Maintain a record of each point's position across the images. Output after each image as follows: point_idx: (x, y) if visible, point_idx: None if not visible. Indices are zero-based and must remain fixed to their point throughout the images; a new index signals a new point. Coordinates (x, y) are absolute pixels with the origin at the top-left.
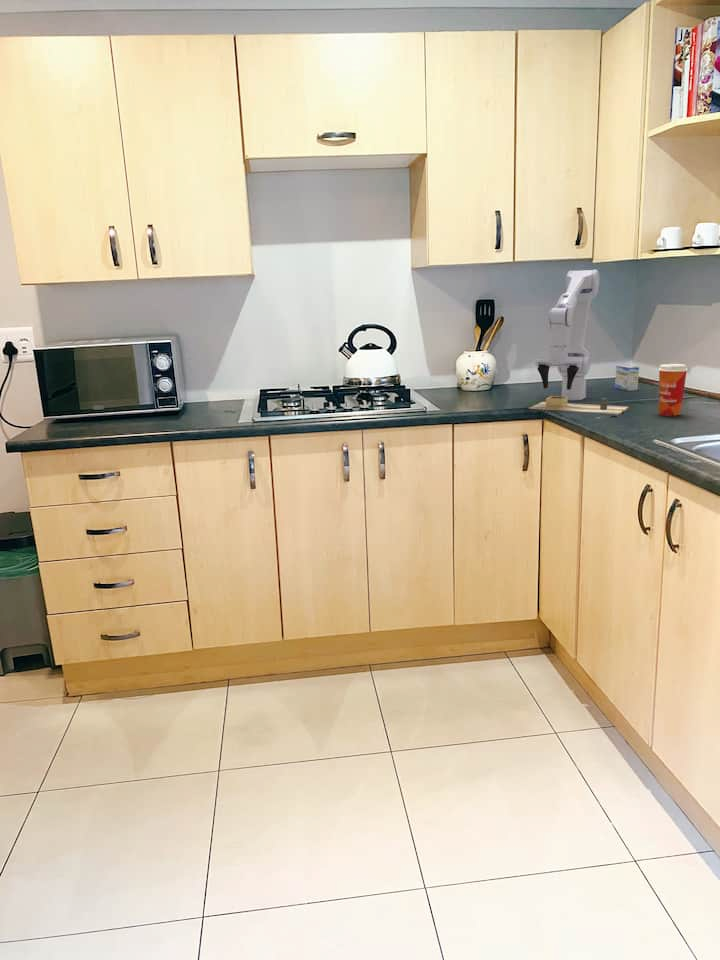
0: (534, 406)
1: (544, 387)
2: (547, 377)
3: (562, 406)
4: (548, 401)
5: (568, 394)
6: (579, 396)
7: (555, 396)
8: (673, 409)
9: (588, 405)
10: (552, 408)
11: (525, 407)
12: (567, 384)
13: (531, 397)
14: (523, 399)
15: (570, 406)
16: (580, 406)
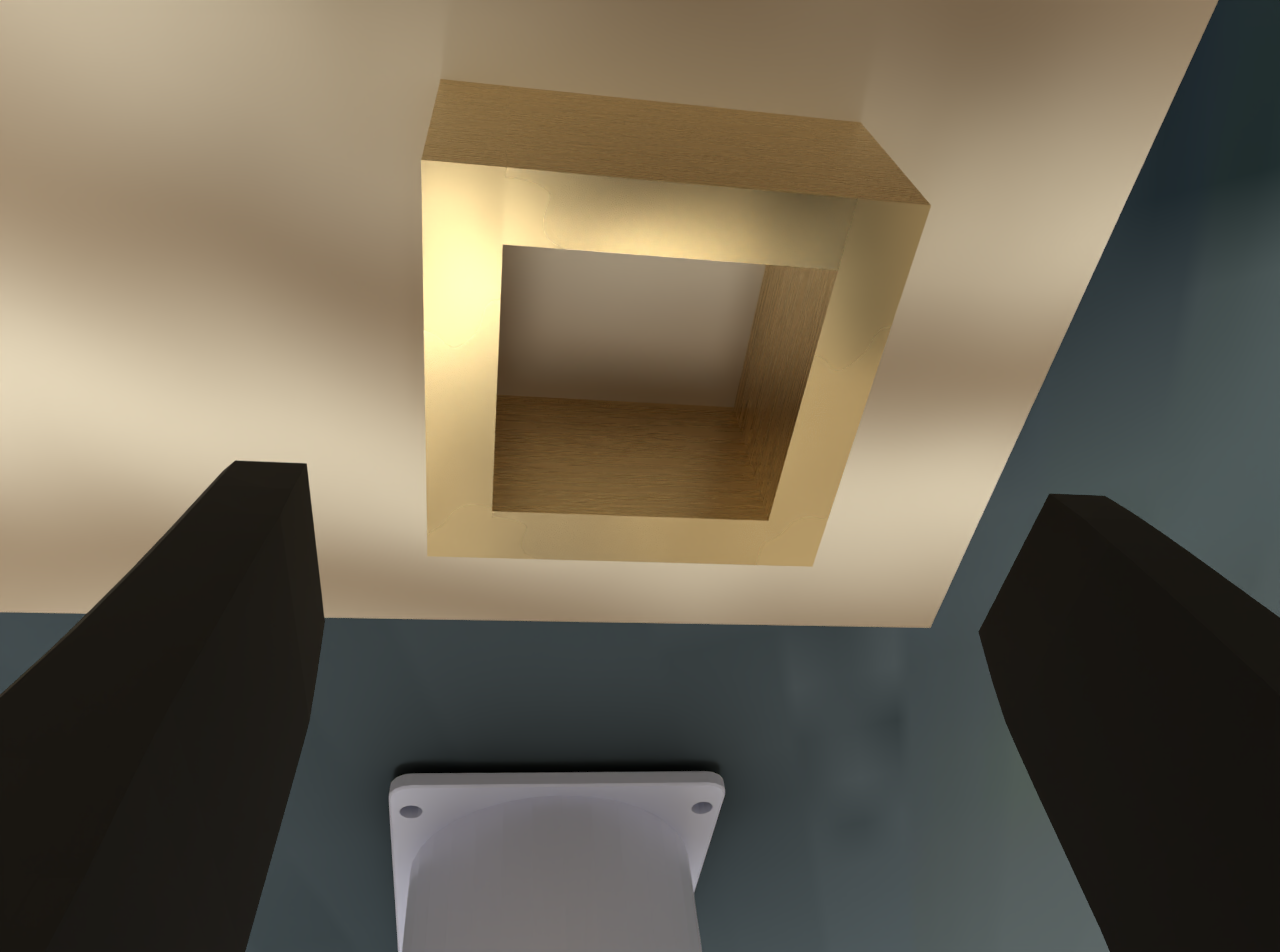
0: (1118, 108)
1: (1104, 507)
2: (1146, 933)
3: (437, 98)
4: (831, 165)
5: (579, 886)
6: (427, 895)
7: (713, 524)
8: None
9: (52, 517)
10: None
11: (1232, 289)
12: (226, 562)
13: (1048, 901)
14: None
15: (332, 323)
16: (135, 379)
